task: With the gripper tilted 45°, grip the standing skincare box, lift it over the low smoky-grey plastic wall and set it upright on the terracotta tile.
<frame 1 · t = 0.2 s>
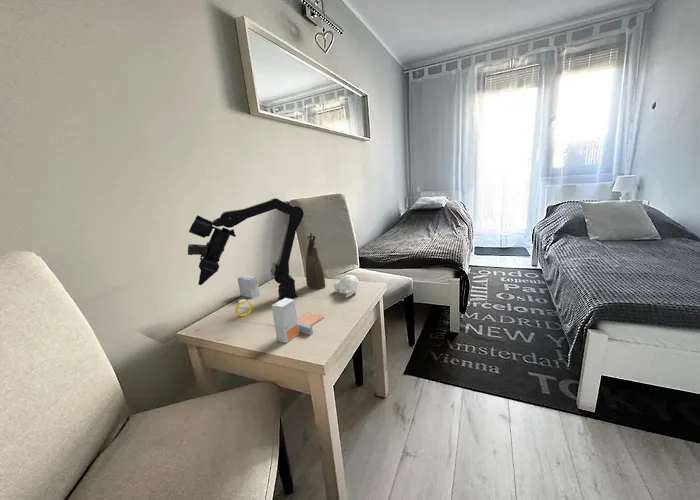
hand: (200, 281, 108), 15 cm above the table, tool tilted 35°, fingers open, 9 cm apart
medicine box: (250, 295, 131), on the table
skincare box: (288, 337, 92), on the table
white animal figurine: (345, 294, 122), on the table
statue: (316, 286, 134), on the table
terracotta tile: (308, 320, 101), on the table
watch: (245, 315, 111), on the table
low wall: (296, 329, 96), on the table
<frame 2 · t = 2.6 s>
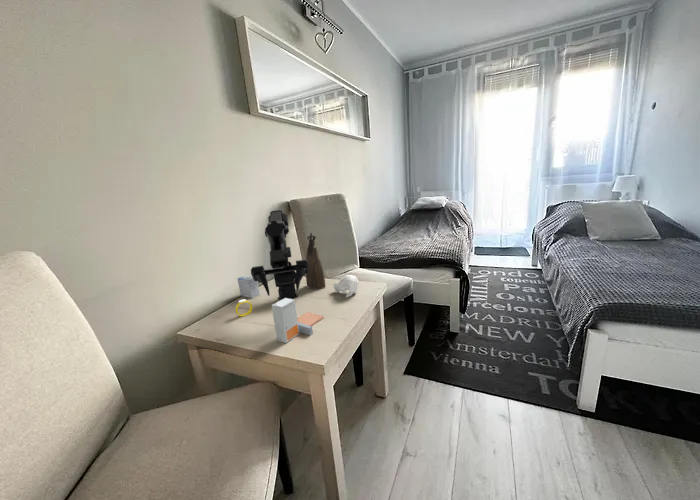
hand: (283, 292, 95), 13 cm above the table, tool tilted 45°, fingers open, 9 cm apart
nothing on the table moved.
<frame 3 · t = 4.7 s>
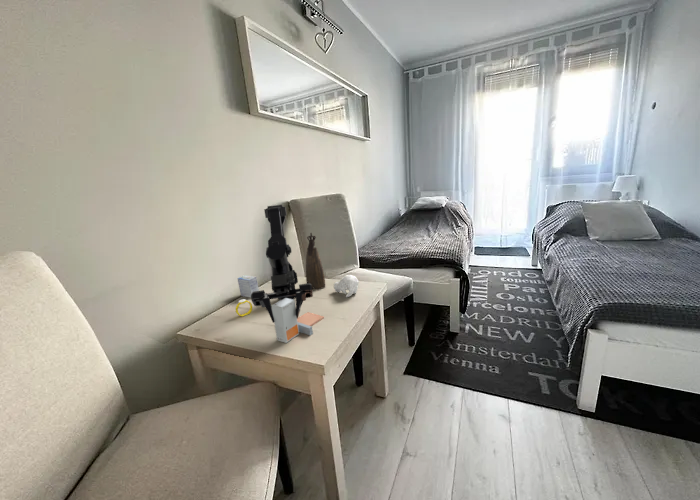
hand: (285, 320, 89), 7 cm above the table, tool tilted 45°, fingers closed on skincare box, 7 cm apart
skincare box: (288, 337, 92), on the table, touching gripper
everything else where it was.
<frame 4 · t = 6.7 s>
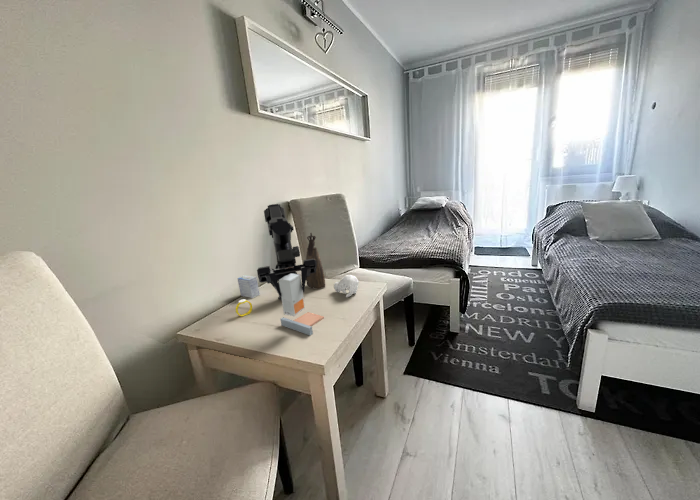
hand: (292, 294, 91), 13 cm above the table, tool tilted 45°, fingers closed on skincare box, 7 cm apart
skincare box: (294, 312, 94), point 6 cm above the table, touching gripper
everything else where it was.
when the fingers open (8 cm above the table, at t = 9.0 s): skincare box stays where it is, resting on terracotta tile.
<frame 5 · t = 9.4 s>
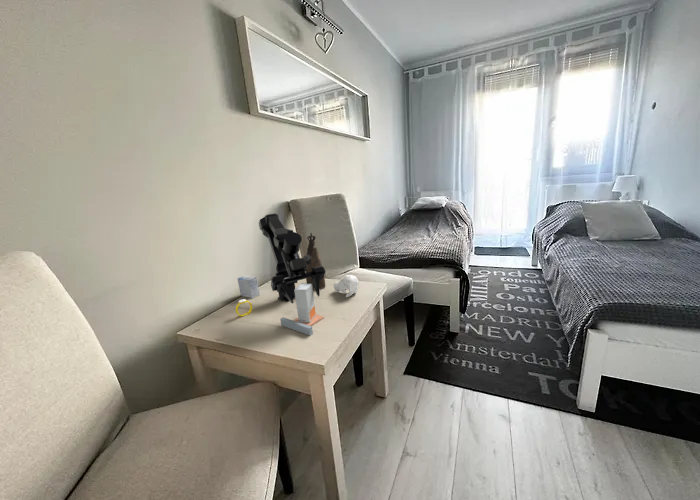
hand: (306, 299, 98), 8 cm above the table, tool tilted 45°, fingers open, 9 cm apart
skincare box: (308, 319, 102), resting on terracotta tile
everything else where it was.
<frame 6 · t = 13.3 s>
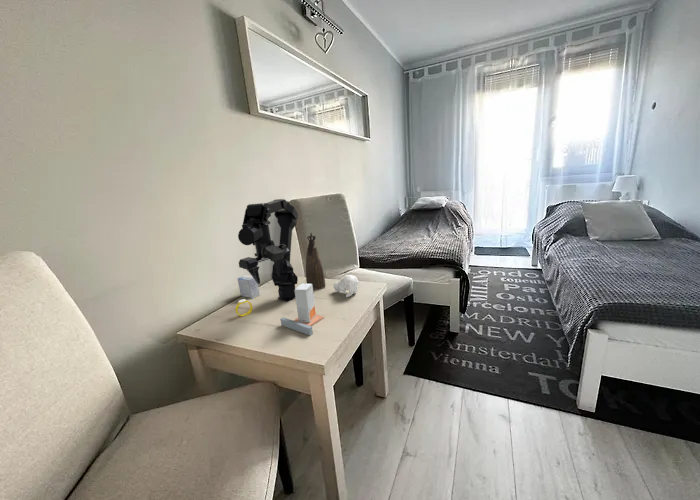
hand: (269, 279, 108), 13 cm above the table, tool pointing down, fingers open, 9 cm apart
nothing on the table moved.
at the end: skincare box 0.2 cm off-centre on the terracotta tile, point 0.4 cm above the terracotta tile's base; skincare box tilted 0°; the gripper is holding nothing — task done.
